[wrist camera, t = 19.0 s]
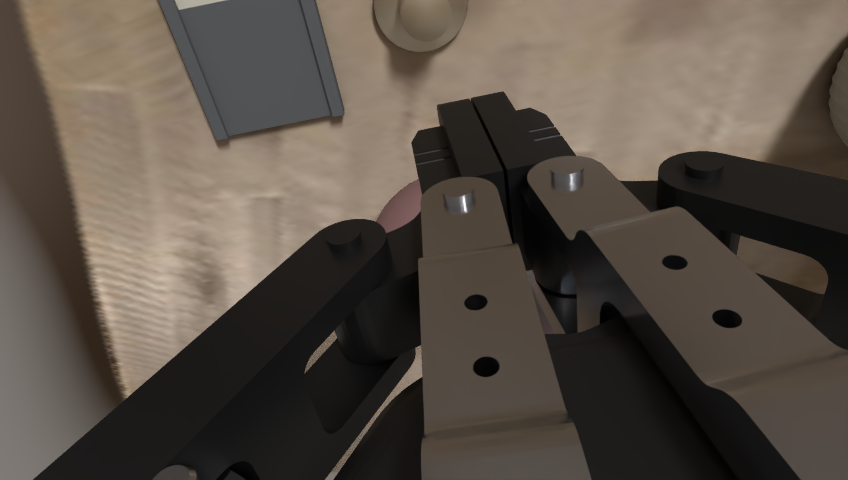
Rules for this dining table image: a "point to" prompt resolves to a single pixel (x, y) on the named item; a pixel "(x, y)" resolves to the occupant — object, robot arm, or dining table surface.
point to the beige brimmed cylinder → (420, 22)
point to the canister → (840, 98)
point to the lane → (255, 61)
